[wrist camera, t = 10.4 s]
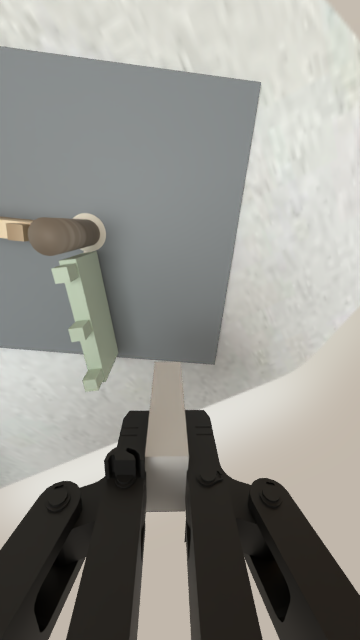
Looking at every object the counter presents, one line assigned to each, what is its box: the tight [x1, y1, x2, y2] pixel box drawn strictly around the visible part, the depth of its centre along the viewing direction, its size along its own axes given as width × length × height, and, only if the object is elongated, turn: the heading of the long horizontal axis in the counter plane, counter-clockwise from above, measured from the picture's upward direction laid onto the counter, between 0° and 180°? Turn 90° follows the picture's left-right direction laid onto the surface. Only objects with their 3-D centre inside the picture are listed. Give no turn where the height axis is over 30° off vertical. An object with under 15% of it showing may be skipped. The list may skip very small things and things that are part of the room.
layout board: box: [0, 46, 261, 364], centre depth 23 cm, size 24×26×1 cm
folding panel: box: [51, 251, 118, 392], centre depth 22 cm, size 10×1×7 cm, turn 6°
